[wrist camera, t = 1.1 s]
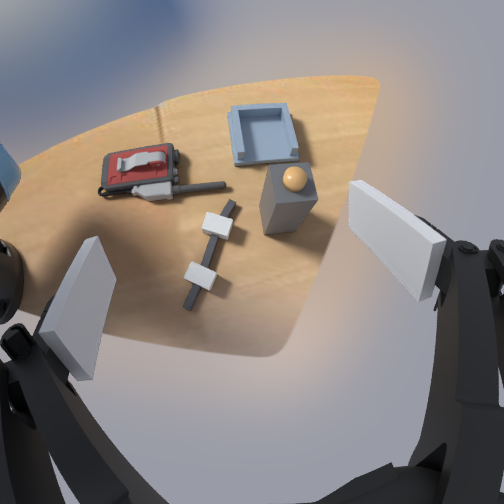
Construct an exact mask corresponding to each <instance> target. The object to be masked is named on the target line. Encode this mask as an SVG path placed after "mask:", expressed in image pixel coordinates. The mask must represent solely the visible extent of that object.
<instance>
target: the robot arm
mask: <svg viewBox="0 0 504 504" xmlns="http://www.w3.org/2000/svg"><path fill="white" fill-rule="evenodd" d="M20 179H21V170H20V168H19V166H18V165H17V163H16V162H15V161H14V160H13V158H12V157H11V156H10V154H9V153H8V152H7V150H6V149H5V148H4V146H3V145H2V144H1V143H0V212H1V211H2V209H3V208H4V206H5V205H6V203H7V202H9V200H10V196H11V195H12V193H13V192H14V190H15V188H16V187H17V185H18V184H19V182H20ZM349 229H350V230H351V231H352V232H353V233H354V234H355V235H356V236H357V237H358V238H359V239H360V240H361V241H362V242H363V243H364V244H365V245H366V246H367V247H368V248H369V249H370V250H371V251H372V252H373V253H374V254H375V255H376V256H377V257H378V258H379V259H380V260H381V261H382V262H383V264H384V265H385V266H386V267H387V268H388V269H389V270H390V271H391V272H392V273H393V274H394V275H395V276H396V277H397V279H398V280H399V281H400V282H401V283H402V284H403V285H404V286H405V288H406V289H407V290H408V291H409V292H410V293H411V294H412V295H413V297H414V298H415V299H416V300H417V301H418V302H420V301H422V300H424V299H427V298H429V297H431V296H432V293H433V290H434V286H435V285H436V286H437V287H438V288H439V289H440V292H439V295H438V298H437V302H436V304H435V307H434V311H436V309H437V307H438V314H437V315H438V316H437V333H436V345H435V355H434V364H433V372H432V379H431V386H430V392H429V398H428V404H427V409H426V414H425V418H424V423H423V427H422V432H421V436H420V439H419V442H418V444H417V446H416V448H415V450H414V452H413V454H412V456H411V458H410V461H409V464H408V466H402V467H395V468H394V467H393V465H392V463H389V464H387V465H385V466H382V467H380V468H378V469H376V470H374V471H371V472H369V473H367V474H364V475H362V476H359V477H357V478H354V479H353V480H351V481H350V482H348V483H347V484H345V485H344V486H342V487H340V488H339V489H337V490H336V491H334V492H332V493H331V494H329V495H328V496H326V497H324V498H322V499H321V500H319V501H316V502H313V503H299V504H504V493H502V492H500V487H501V482H502V477H503V471H504V407H500V405H499V401H498V400H499V376H498V367H499V370H500V374H501V379H502V383H503V387H504V294H503V295H502V293H501V288H502V286H503V284H504V241H503V240H498V239H496V240H492V241H491V243H490V246H489V250H482V251H481V250H479V249H478V247H477V246H475V245H474V244H472V243H470V242H467V241H456V242H454V241H453V240H452V239H450V238H449V237H447V236H446V235H445V234H444V233H442V232H441V231H440V230H439V229H436V227H435V226H433V225H431V224H430V223H429V222H428V221H426V220H425V219H424V218H421V217H419V216H416V215H414V214H412V213H410V212H409V211H408V210H406V209H405V208H403V207H402V206H400V205H399V204H397V203H396V202H395V201H393V200H392V199H390V198H389V197H387V196H386V195H384V194H383V193H381V192H379V191H378V190H377V189H375V188H373V187H372V186H370V185H369V184H367V183H366V182H364V181H362V180H357V181H350V182H349ZM116 280H117V279H116V277H115V274H114V272H113V270H112V268H111V266H110V263H109V261H108V259H107V256H106V254H105V252H104V249H103V247H102V245H101V242H100V240H99V237H98V236H95V237H91V238H88V239H85V241H84V243H83V244H82V246H81V248H80V249H79V251H78V253H77V255H76V257H75V258H74V260H73V262H72V264H71V266H70V268H69V269H68V271H67V273H66V275H65V277H64V279H63V281H62V283H61V285H60V287H59V289H58V291H57V293H56V295H54V296H53V297H52V298H51V299H50V300H49V302H48V303H47V305H46V307H45V309H44V311H43V312H44V313H42V315H41V320H39V322H38V324H37V327H36V329H35V331H34V334H33V336H31V335H30V333H29V332H28V331H27V329H26V328H25V326H24V325H23V324H20V323H18V324H15V325H13V326H11V327H10V328H9V329H8V330H7V331H6V332H5V333H4V334H3V336H2V338H1V341H0V346H1V347H2V349H3V350H4V351H5V352H6V353H7V355H8V356H9V357H10V358H11V359H12V360H11V361H8V362H6V363H3V362H2V360H1V359H0V504H65V501H64V498H63V496H62V493H61V490H60V487H59V485H58V482H57V479H56V476H55V473H54V469H53V466H52V463H51V459H50V455H51V457H52V459H53V460H54V462H55V464H56V466H57V468H58V470H59V471H60V473H61V475H62V476H63V478H64V480H65V481H66V483H67V485H68V486H69V488H70V489H71V491H72V492H73V494H74V495H75V497H76V499H77V500H78V501H79V503H80V504H169V503H168V502H167V501H166V500H165V499H163V498H162V497H161V496H160V495H159V494H158V493H157V492H156V491H155V490H154V489H153V488H152V487H151V486H150V485H149V484H148V483H147V482H146V481H145V480H144V479H143V477H142V476H141V475H140V474H139V473H138V472H137V471H136V470H135V469H134V468H133V467H132V466H131V464H130V463H129V462H128V461H127V460H126V458H125V457H124V456H123V455H122V454H121V453H120V451H119V450H118V449H117V448H116V446H115V445H114V444H113V443H112V441H111V440H110V439H109V438H108V436H107V435H106V434H105V432H104V431H103V430H102V428H101V427H100V426H99V424H98V423H97V422H96V420H95V419H94V417H93V416H92V414H91V413H90V412H89V410H88V409H87V407H86V406H85V404H84V403H83V401H82V400H81V398H80V397H79V395H78V393H77V392H76V390H75V389H74V387H73V385H72V384H71V383H70V382H69V381H68V375H69V372H70V373H71V374H72V376H73V377H74V378H75V379H76V380H77V381H83V380H92V379H93V374H94V369H95V363H96V359H97V354H98V350H99V345H100V341H101V336H102V332H103V328H104V324H105V320H106V316H107V312H108V308H109V305H110V301H111V297H112V294H113V290H114V287H115V284H116ZM22 292H23V268H22V263H21V259H20V256H19V254H18V252H17V250H16V249H15V247H14V246H13V245H12V244H10V243H9V242H7V241H4V240H2V239H0V324H5V323H6V322H8V321H9V320H10V319H11V318H12V317H13V316H14V314H15V313H16V311H17V309H18V307H19V304H20V301H21V297H22ZM10 407H11V408H12V411H11V409H10ZM48 451H49V452H48ZM49 453H50V455H49Z"/></svg>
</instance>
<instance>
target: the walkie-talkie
mask: <svg viewBox="0 0 504 504" xmlns="http://www.w3.org/2000/svg"><path fill="white" fill-rule="evenodd" d="M175 162H176V163H179V162H180V155H179V150H178V149H177V150H174V147H173V144H171V143H166V144H159V145H152V146H146V147H142V148H141V147H140V148H136V149H130V150H124V151H120V152H119V151H118V152H114V153H109V154H107V155H106V156H105V157H104V159H103V168H102V177H101V187H100V188H99V189H98V194H99V195H100V196H110V195H116V194H122V193H129V194H133V195H134V196H136V195H139V196H140V197H142V198H144V199H145V200H147V201H155V200H163V199H168V200H170V199H173V195H175V194H181V193H183V192H192V191H202V190H210V189H220V188H225V187H226V183H225V182H223V181H222V182H211V183H201V184H192V185H182V186H180V185H176V186H173V185H174V184H175V183H176V182H179V177H176V176H175V174H178V172H177V169H175ZM103 189H105V190H106V191H107V193H101V191H102V190H103Z"/></svg>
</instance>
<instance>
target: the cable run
mask: <svg viewBox="0 0 504 504" xmlns="http://www.w3.org/2000/svg"><path fill="white" fill-rule="evenodd" d="M235 205H236V202H234V201H232V200H230V199H229V201H228V202H227V204H226V206H225V208H224V209H223V211H222V213H221V214H220V215H216V214H213V213H210V212H207V214H206V217H205V220H204V223H203V225H202V231H203V233H206V234H209V235H211V236H210V239H209V242H208V245H207V248H206V251H205V254H204V257H203V260H202V263H201V265H199V264H197V263H195V262H193V261H191V263H190V265H189V267H188V269H187V271H186V274H185V276H184V279H186V280H188V281H190V282H192V283H194V284H193V286H192V288H191V290H190V292H189V294H188V296H187V299H186V301H185V303H184V305H183V307H184V308H186V309H188V310H191V308H192V306H193V304H194V302H195V300H196V297H197V295H198V293H199V291H200V289H201V287H203V288H205V289H207V290H209V291H210V290H211V288H212V286H213V284H214V281H215V279H216V277H217V273H216V272H214V271H212V270H210V269H208V268H209V265H210V262H211V259H212V256H213V253H214V250H215V247H216V244H217V241H218V238H222V239H225V240H228V238H229V235H230V232H231V229H232V226H233V219H230V218H228V217H229V215H230V214H231V212H232V210H233V209H234V207H235Z"/></svg>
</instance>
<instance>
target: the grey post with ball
mask: <svg viewBox="0 0 504 504" xmlns="http://www.w3.org/2000/svg"><path fill="white" fill-rule="evenodd" d="M317 201H318V196H317V192H316V188H315V184H314V179H313V175H312V171H311V167H310V163H309V162H303V163H287V164H274V165H269V167H268V171H267V175H266V179H265V183H264V188H263V192H262V196H261V200H260V204H259V207H260V213H261V219H262V225H263V231H264V235H269V234H277V233H286V232H294V231H296V230H297V228H298V227H299V226H300V224H301V223H302V221H303V220H304V219H305V217H306V216H307V215H308V213H309V212H310V210H311V209H312V208H313V206H314V205H315V204H316V202H317Z"/></svg>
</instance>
